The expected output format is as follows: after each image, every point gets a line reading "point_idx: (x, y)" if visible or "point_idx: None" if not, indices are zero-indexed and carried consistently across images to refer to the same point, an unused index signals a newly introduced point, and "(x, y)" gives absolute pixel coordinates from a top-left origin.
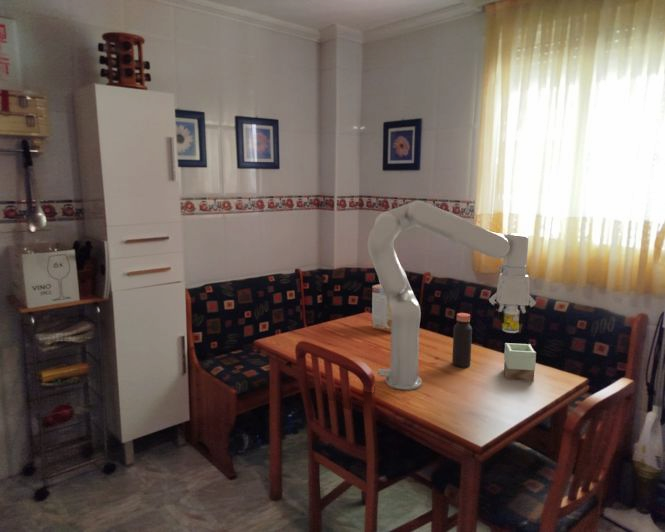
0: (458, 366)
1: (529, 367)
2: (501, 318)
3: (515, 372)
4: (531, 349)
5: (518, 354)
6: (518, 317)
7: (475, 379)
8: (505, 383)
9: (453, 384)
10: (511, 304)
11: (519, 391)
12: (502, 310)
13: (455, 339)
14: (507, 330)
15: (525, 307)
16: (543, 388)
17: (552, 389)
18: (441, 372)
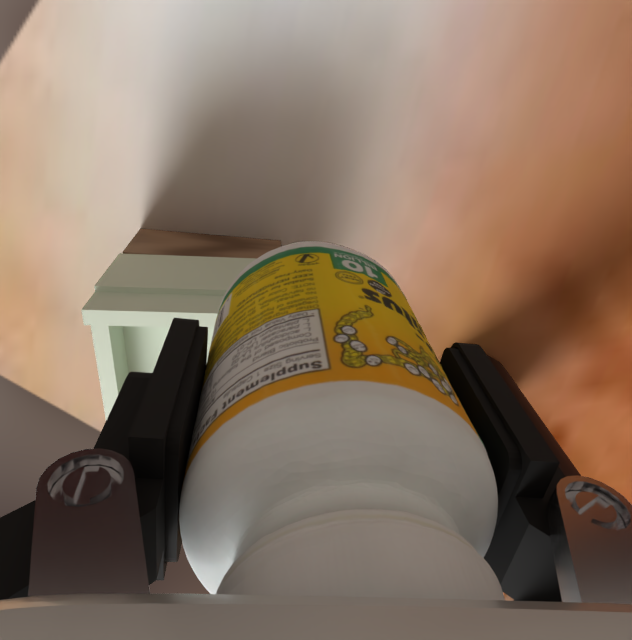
0: (490, 357)
1: (149, 260)
2: (498, 383)
3: (234, 252)
4: (109, 363)
5: (212, 302)
6: (222, 382)
7: (447, 219)
8: (298, 185)
9: (589, 136)
10: (470, 606)
11: (240, 78)
12: (531, 516)
13: (573, 465)
14: (372, 262)
15: (9, 593)
16: (94, 140)
17: (43, 132)
18: (594, 285)
